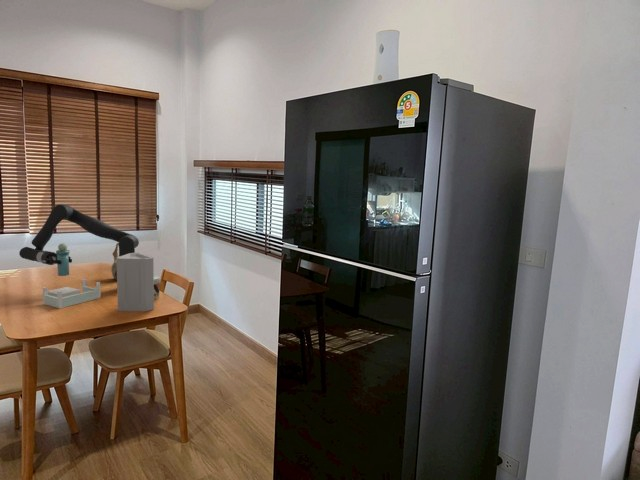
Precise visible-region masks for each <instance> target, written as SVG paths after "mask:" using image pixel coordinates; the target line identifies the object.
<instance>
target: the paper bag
mask: <svg viewBox="0 0 640 480" xmlns="http://www.w3.org/2000/svg"><path fill="white" fill-rule="evenodd" d="M154 267H155V265H154V257H152V256H149V255H146V254H144V253H140V252H135V253H129V254H126V255H123V256H120V257H119V256H118V257H117V280H116V286H117V288H116V289H117V291H116V296H117V310H118V311H119V312H149V311H153V310H155V299H154V276H155V275H154V274H155V273H154V272H155V271H154V270H155V269H154Z"/></svg>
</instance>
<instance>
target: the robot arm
mask: <svg viewBox="0 0 640 480" xmlns="http://www.w3.org/2000/svg"><path fill="white" fill-rule="evenodd" d="M62 221H67V222H71V223H74V224H76V225H78V226H79V227H81V228H82V229H83V230H84V231H86V232H87V233H89V234H92V235H94V236H96V237H99V238H102V239H108V240H112V241H115V242H117V243H119V246H118V257H119V256H123V255H126V254H129V253H136V249H135V248H137V247H138V246H139V245H140V244H139V243H140V242H139V241H140V240H139V239H138V237H137V236H136V235H133V234H131V233H128V232H126V231H123V230H120V229H118V228H116V227H114V226H112V225H110V224H107V223H106V222H104V221H102V220H100V219H98V218H94V217H93V216H90V215H88V214H84V213H82V212H80V211H79V210H77V209H75V208H74V207H72V206H71V205H68V204H56V205H54V207H53V208H52V209H51V212H50V214H49V215H48V217H47V219H46V221H45V222H44V224H43V226H42V227H41V229H40V230H39V231H38V233H37V234H36V235H35V236H34V237H33V239H32V240H31V245H33V246H34V247H35V248H32V247H29V246H24V247H22V248H21V249H20V250H19V252H18V253H19V254H18V255H19V256H20V258H21V259H25V260H28V261H32V262H37V263H41V264H44V265H48V266H54V265H57V264H61V260H57V254H56V252H54V251H48V250H44V248H45V246H46V245H47V243H49V241H51V238H52V237H53V235H54V232H55V229H56V227H57V226H58V225H59V224H60V223H61V222H62ZM72 262H73V258H72V257H71V256H69V264H72Z"/></svg>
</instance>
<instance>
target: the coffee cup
mask: <svg viewBox="0 0 640 480" xmlns="http://www.w3.org/2000/svg"><path fill="white" fill-rule="evenodd" d="M160 288H161V277H160V276H157V275H154V300H157V299H160Z"/></svg>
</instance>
